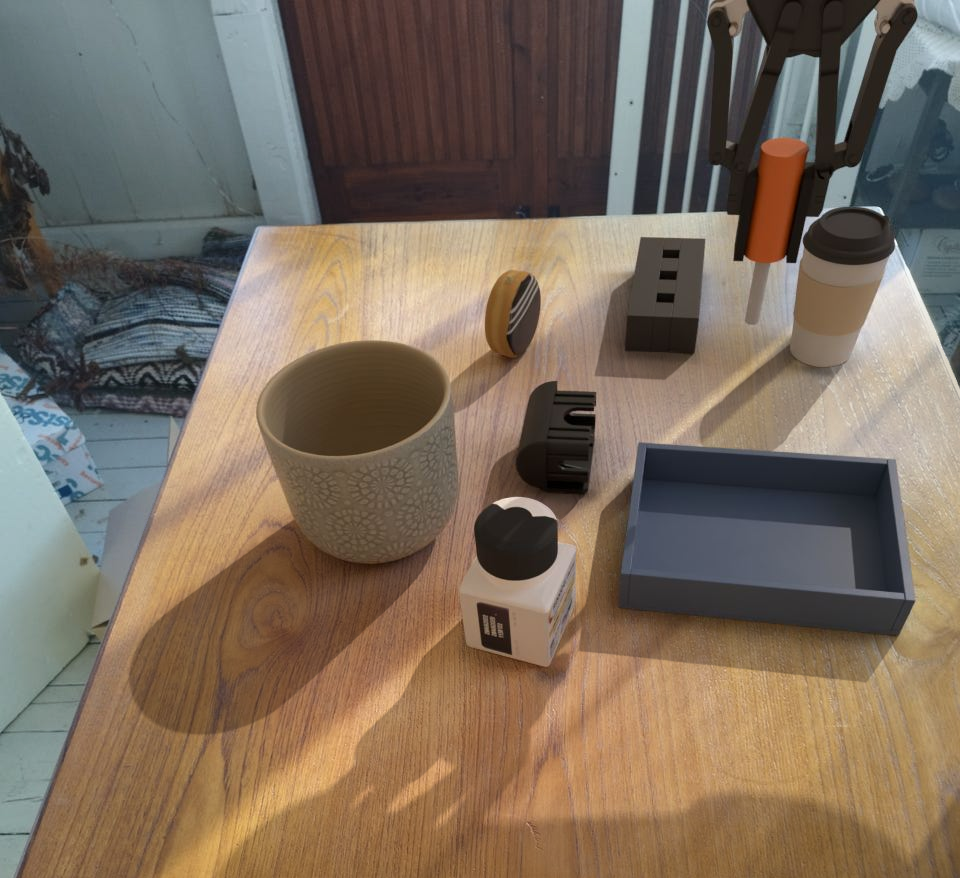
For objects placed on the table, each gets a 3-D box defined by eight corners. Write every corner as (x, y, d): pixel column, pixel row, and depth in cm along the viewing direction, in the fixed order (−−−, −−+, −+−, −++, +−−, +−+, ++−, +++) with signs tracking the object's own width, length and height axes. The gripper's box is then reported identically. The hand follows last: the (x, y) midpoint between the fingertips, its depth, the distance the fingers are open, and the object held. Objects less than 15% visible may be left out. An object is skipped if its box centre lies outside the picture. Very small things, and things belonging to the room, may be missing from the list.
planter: (499, 502, 87) (489, 371, 75) (397, 613, 79) (367, 484, 67) (369, 449, 94) (341, 321, 82) (262, 546, 86) (214, 419, 74)
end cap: (529, 432, 94) (527, 378, 89) (595, 434, 93) (597, 380, 88) (516, 494, 88) (513, 441, 83) (587, 498, 87) (588, 444, 82)
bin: (882, 495, 84) (896, 458, 80) (899, 636, 73) (916, 601, 70) (635, 477, 88) (638, 442, 85) (618, 607, 78) (620, 573, 74)
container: (548, 669, 74) (546, 564, 64) (465, 647, 76) (449, 542, 66) (576, 604, 78) (578, 495, 68) (496, 584, 80) (486, 477, 70)
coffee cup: (775, 367, 98) (804, 236, 86) (783, 323, 103) (811, 194, 91) (860, 376, 96) (902, 243, 84) (863, 331, 101) (903, 200, 89)
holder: (701, 272, 111) (705, 238, 108) (694, 353, 101) (699, 318, 97) (638, 270, 113) (640, 236, 109) (624, 350, 102) (627, 315, 99)
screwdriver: (772, 311, 76) (808, 137, 65) (772, 333, 74) (809, 157, 63) (732, 309, 76) (761, 137, 65) (730, 331, 74) (760, 157, 63)
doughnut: (511, 375, 101) (506, 294, 93) (483, 368, 102) (476, 288, 94) (545, 332, 106) (543, 252, 98) (517, 326, 107) (513, 247, 99)
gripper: (691, -105, 51) (657, 273, 70) (994, -117, 48) (875, 282, 66) (699, -135, 56) (665, 227, 74) (976, -148, 53) (869, 234, 71)
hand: (764, 253), depth 70 cm, fingers closed on screwdriver, 3 cm apart
